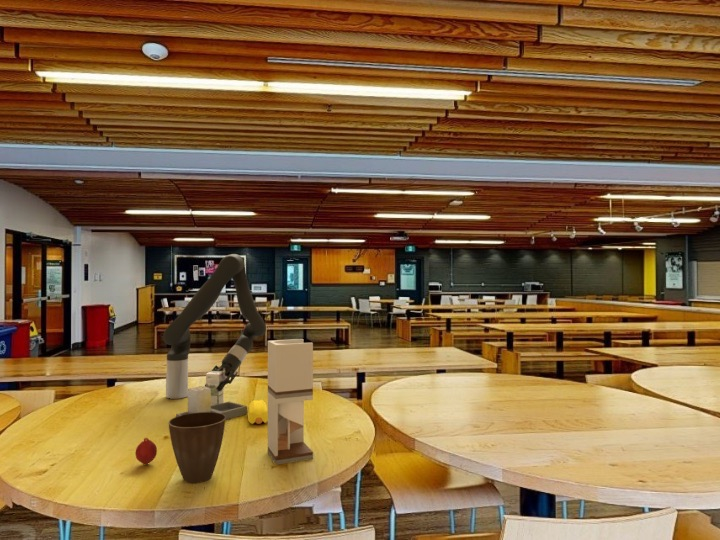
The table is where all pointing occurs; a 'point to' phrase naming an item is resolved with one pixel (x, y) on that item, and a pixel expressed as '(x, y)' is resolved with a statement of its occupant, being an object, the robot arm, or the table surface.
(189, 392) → the block
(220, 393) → the syrup box
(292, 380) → the white brown-banded tower
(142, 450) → the onion
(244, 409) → the grey rectangular tray
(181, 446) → the plant pot
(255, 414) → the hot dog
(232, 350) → the robot arm
